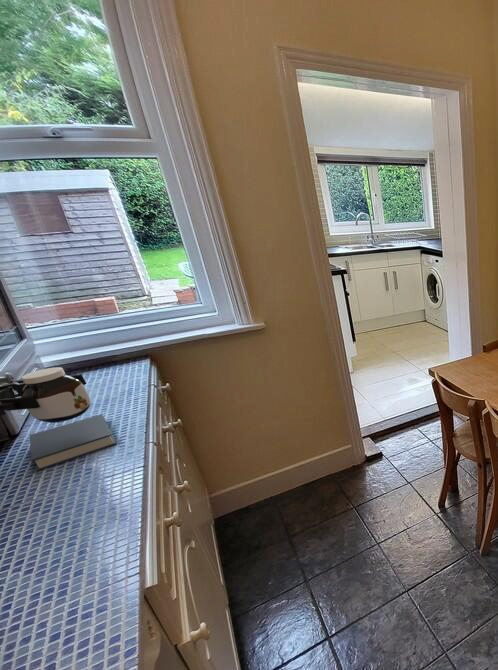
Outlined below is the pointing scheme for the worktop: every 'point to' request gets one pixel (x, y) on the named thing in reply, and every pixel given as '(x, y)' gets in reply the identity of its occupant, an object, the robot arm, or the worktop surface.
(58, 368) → the spread jar
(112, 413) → the worktop surface
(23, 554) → the worktop surface
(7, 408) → the robot arm
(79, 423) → the book
